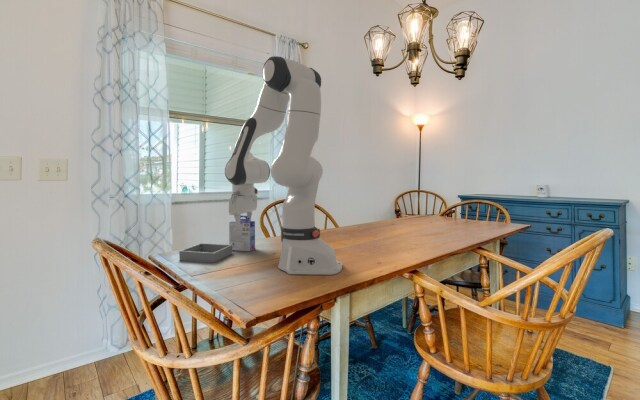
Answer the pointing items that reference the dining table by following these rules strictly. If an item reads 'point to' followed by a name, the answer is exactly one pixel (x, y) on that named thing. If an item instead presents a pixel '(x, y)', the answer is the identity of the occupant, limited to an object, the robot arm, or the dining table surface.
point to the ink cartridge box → (242, 235)
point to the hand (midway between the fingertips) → (243, 223)
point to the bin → (205, 252)
